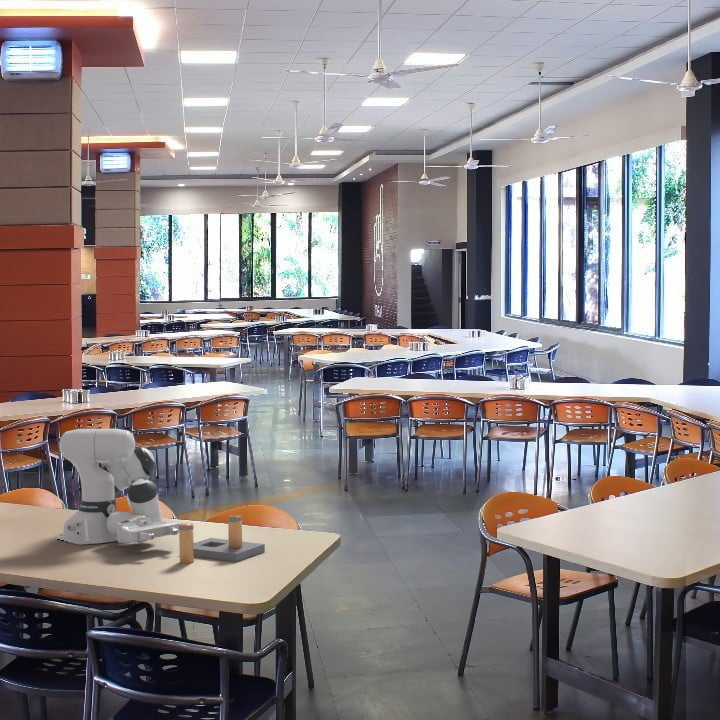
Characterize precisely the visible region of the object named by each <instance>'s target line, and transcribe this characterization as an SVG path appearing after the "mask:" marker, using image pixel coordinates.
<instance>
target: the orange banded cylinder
mask: <svg viewBox="0 0 720 720" xmlns="http://www.w3.org/2000/svg"><path fill="white" fill-rule="evenodd" d="M178 535H179V536H178V539H179V541H178V542H179V545H178V546H179V550H178V551H179V564H182V565H183V564H185V565H186V564H193V563H194V562H195V560H194V559H195V557H194V543H195V542H194V523H193V522H182V523H179V533H178Z"/></svg>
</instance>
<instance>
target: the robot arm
mask: <svg viewBox="0 0 720 720" xmlns="http://www.w3.org/2000/svg"><path fill="white" fill-rule="evenodd" d="M58 446H59V450H60V453H61V455H62V456H63V458H65V459H66V460H68V461H69V463H71V464H72V465H73V466H74V468H75V469H76V470H77V473H78V474H79V479H80V483H81V484H80V485H81V500H80V501H77V502H76V506H78V509H77V511H76V512H75V513H73V515H72V516H70V517H69V518H67V519H66V520H65V522H64V526H63V533H62V534H59V535H57V536H56V540H57V539H60V540H59V541H61V540H64V541H63V542H66V541H67V543H69V544H75V545H78V546H79V545H80V546H81V545H89V544H90V545H91V544H92V545H93V544H94V545H95V544H103V543H104V544H105V543H106V544H107V543H111V542H116V541H117V542H118V543H120V544H124V543H126V544H129V543H130V544H131V543H139V544H141V543H143V544H144V543H145V542H147V541H150V540H154V539H155V538H157V539H158V538H162V537H166V536H176V535H179V524H180V523H179V522H177V521H173V520H172V521H170V520H163V516H162V511H161V506H160V505H161V504H160V502H159V501H160V500H159V496H158V495H159V494H158V489H157V483H155V481H152V480H150V479H149V477H150V476H152V477H153V476H154V473H153V472H154V470H155V469H156V468H155V467H156V461H155V457H154V455H153V453H152V452H151V450H149V449H147V448H146V447H145V446H138V447H136V440H135V437H134V434H133V433H132V432H131V431H129V430H127V429H120V428H77V429H72V430H68V431H65V432H64V433H63V434H62V435H61V437H60V440H59V445H58ZM98 463H99V464H102V465H101V466H99V465H98ZM103 465H104V466H103ZM124 490H126V500H127V503H128V506H129V508H130V510H131V512H127V511H126V512H125V511H117V500H116V498H115V496H116V495H119V494H121V493H122V491H124Z"/></svg>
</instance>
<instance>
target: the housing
mask: <svg viewBox="0 0 720 720" xmlns="http://www.w3.org/2000/svg"><path fill="white" fill-rule="evenodd" d="M227 520H228V521H227V522H228V524H227V526H228V529H227V531H228V532H227V533H228V534H227V535H228V537H227V538H228V539H223V538H216V537H215V538H213V537H209V538H206V539H203V540H199V541H196V542H194V558H202V559H210V560H218V561H226V562H235V563H237V562H240V561H243V560H246V559H248V558H251V557H253V556H257V555H259V554H262V553H265V552H266V546H265V543H258V542H252V541H251V542H250V541H243V516H242V515H239V514H234V515H228V516H227Z"/></svg>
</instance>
